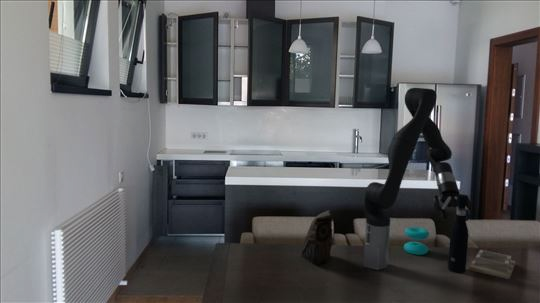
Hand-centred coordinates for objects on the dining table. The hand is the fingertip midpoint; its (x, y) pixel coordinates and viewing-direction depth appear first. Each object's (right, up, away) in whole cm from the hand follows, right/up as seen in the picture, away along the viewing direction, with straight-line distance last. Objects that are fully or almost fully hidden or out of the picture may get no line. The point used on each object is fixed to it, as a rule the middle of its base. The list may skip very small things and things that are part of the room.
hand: (456, 219), depth 169 cm
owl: (-55, -17, +7) cm, 58 cm away
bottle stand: (+15, -20, +2) cm, 25 cm away
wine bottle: (0, -20, -1) cm, 20 cm away
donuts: (-10, -17, +18) cm, 27 cm away
